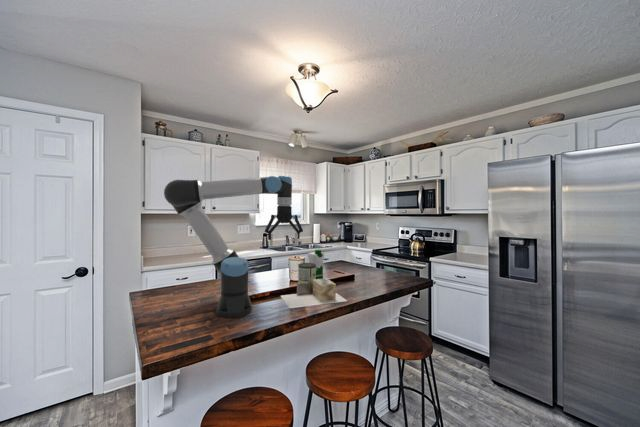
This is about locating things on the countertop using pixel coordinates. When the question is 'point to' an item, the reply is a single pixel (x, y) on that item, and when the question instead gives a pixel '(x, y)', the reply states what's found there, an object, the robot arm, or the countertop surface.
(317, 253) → the milk carton
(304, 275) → the coffee can
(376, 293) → the countertop surface
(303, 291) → the ledge rail
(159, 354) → the countertop surface
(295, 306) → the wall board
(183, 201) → the robot arm
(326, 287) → the beige rounded block
